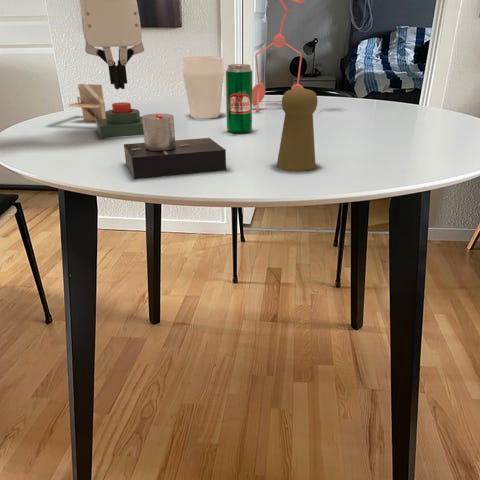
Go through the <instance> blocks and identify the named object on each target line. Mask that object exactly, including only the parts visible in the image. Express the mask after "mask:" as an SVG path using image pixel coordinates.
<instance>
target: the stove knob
mask: <svg viewBox="0 0 480 480" xmlns="http://www.w3.org/2000/svg"><path fill="white" fill-rule="evenodd" d="M141 116H142V121H143V131H144V135H143V141H144V143H145V149H147V150H150V151H167V150H172V149H174V148H175V147H176V144H175V140H176V132H175V131H176V130H175V118H174V117H175V115H173V114H171V113H163V112H161V113H149V114H143V115H141Z"/></svg>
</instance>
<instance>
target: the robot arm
mask: <svg viewBox="0 0 480 480" xmlns="http://www.w3.org/2000/svg"><path fill="white" fill-rule="evenodd" d="M79 3H80V4H79V6H80V15H81V24H82V32H83V37H84V41H85V45H84V52H85V53H86V54H88V55H92V56H94V57H95V56H96V57H99V58H100V59H101V60H102V61H103V62H105V63H106V65H107V66H108V74H109V82H110V85H113V87H114V89H115V90H120V89H121V90H125V89H126V88H125V86H126V85H127V84H128V77H127V69H126V68H127V67H126V66H127V64H128V63H129V61H130V60H131V58H132V57H133V56H136V55H138V54H142V53H144V52H145V47H144V43H143V41H142V40H143V39H142V38H143V37H142V35H143V34H142V33H143V32H142V26H141V18H140V13H139V12H140V11H139V7H138V1H137V0H79ZM117 47H118V60H117V65H116V62H115V60H114V57H113V54H112V49H111V48H117ZM128 47H129V48H128Z"/></svg>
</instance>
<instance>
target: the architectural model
mask: <svg viewBox="0 0 480 480" xmlns="http://www.w3.org/2000/svg"><path fill="white" fill-rule="evenodd" d="M77 86H78V87H77V89H78V92H79V96H78V95H77V96H76V98H77V102H73V103H69V104H67V106H68V108H80V109H81V111H82V116H81V115H76V116H71V119H82V118H83V121H87V122H88V121H89V122H96V119H106V115H105V112H106V111H107V110H106V105H105V99H104V92H103V86H102V84H93V83H92V84H89V83H86V84H85V83H78V85H77Z"/></svg>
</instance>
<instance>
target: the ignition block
mask: <svg viewBox="0 0 480 480" xmlns="http://www.w3.org/2000/svg"><path fill="white" fill-rule="evenodd" d="M105 111H106V112H105V115H106V119H96V121H95V123H96V129H97V132H98V135H99V136H100V138H101V139H108V138H122V137H133V136H134V137H135V136H137V137H138V136H144V131H143V121H142V116H143V115H141V114H140V111H139V109H136V108H131V111H132V112H129V113H113V109H109V110H105Z"/></svg>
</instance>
